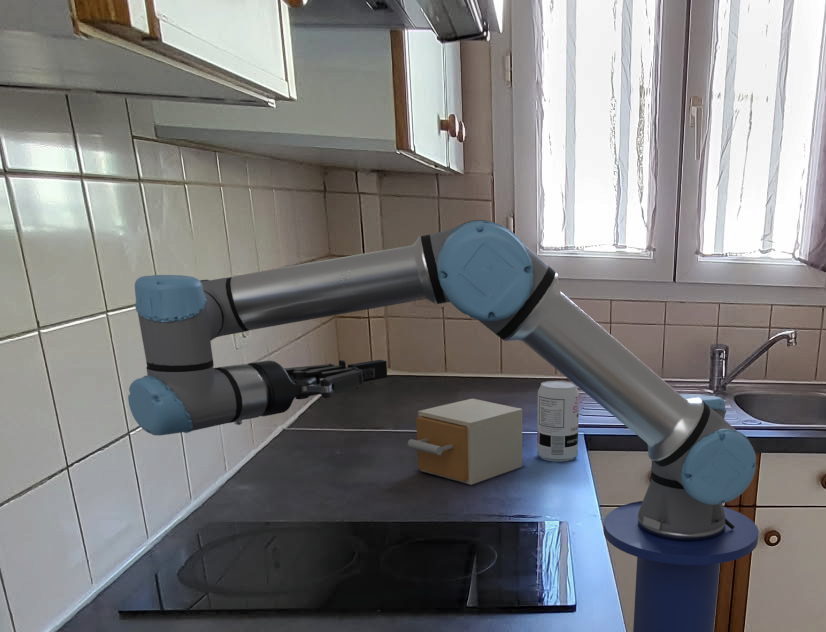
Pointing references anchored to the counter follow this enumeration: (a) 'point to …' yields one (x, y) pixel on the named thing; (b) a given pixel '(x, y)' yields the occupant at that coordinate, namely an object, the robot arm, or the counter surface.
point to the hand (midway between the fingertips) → (383, 368)
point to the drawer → (441, 447)
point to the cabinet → (485, 436)
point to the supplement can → (557, 421)
